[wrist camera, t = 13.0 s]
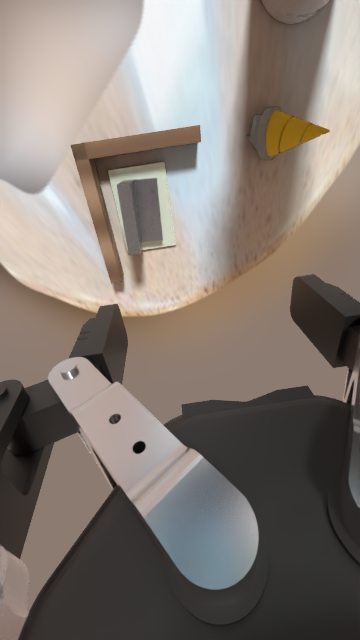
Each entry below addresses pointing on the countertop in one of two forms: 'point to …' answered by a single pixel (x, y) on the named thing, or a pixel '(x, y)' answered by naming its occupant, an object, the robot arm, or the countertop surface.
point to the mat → (165, 209)
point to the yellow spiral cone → (280, 132)
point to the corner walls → (91, 183)
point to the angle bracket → (140, 212)
